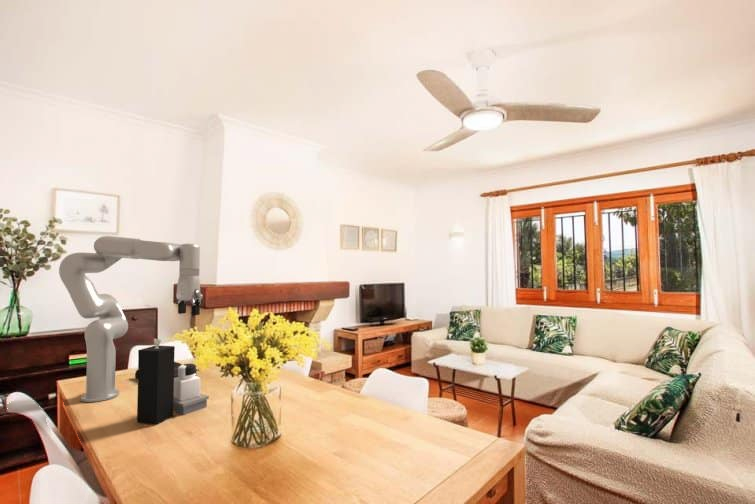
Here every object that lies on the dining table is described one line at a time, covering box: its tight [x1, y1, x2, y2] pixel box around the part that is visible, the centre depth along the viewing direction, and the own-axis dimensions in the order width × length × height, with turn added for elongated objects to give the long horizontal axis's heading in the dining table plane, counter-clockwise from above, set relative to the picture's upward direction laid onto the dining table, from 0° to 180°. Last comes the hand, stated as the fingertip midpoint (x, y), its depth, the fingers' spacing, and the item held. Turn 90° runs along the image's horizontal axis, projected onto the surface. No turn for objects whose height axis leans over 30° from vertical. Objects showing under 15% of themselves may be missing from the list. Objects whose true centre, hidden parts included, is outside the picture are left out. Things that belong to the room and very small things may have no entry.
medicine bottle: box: [174, 363, 201, 401], centre depth 141 cm, size 7×7×12 cm
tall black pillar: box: [136, 338, 176, 426], centre depth 130 cm, size 8×8×28 cm
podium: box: [173, 393, 210, 416], centre depth 141 cm, size 12×10×4 cm
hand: (188, 314), depth 156 cm, fingers open, 9 cm apart
